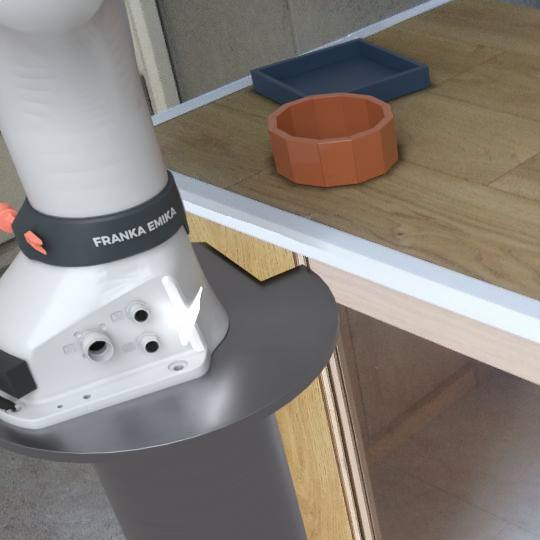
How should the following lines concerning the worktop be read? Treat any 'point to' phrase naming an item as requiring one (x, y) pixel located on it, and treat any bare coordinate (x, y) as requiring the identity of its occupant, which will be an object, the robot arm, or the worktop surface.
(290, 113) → the bowl
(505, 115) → the worktop surface
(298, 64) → the tray
